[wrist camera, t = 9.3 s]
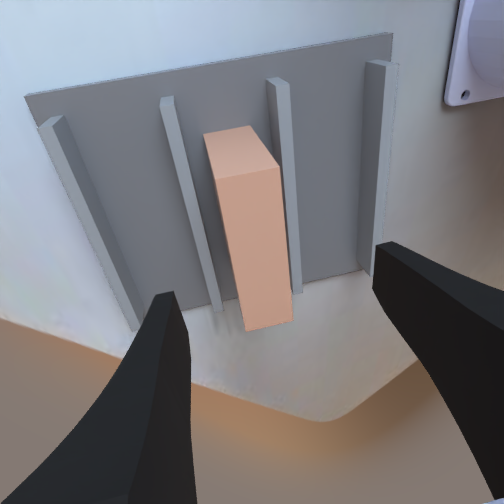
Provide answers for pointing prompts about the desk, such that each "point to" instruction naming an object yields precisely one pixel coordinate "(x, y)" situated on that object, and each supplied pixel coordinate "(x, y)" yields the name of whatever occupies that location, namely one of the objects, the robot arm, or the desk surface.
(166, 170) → the rack
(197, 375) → the desk surface
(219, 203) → the tile
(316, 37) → the desk surface
